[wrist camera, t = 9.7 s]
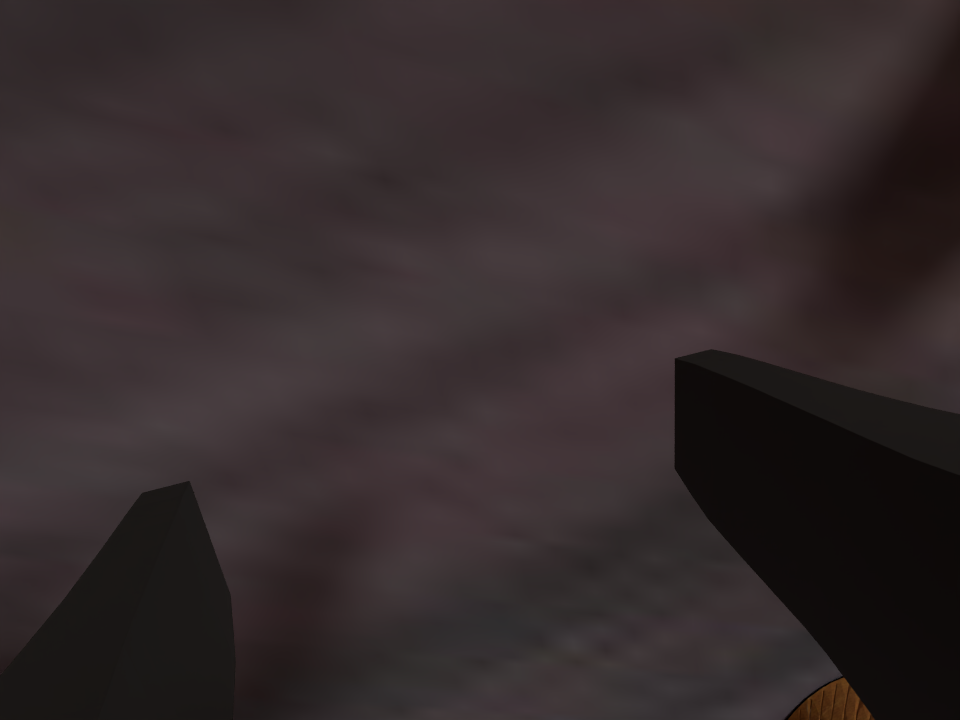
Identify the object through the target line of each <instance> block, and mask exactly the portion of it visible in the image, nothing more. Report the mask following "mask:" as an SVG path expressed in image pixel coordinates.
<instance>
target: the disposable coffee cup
mask: <svg viewBox="0 0 960 720" xmlns="http://www.w3.org/2000/svg"><path fill="white" fill-rule="evenodd" d="M788 720H875V719H874V718H873V716H872V715H871V713H870V712H869V711H868V709H867V708H866V707H865V705H864V704H863V702H862V701H861V700H860V698H859V697H858V696H857V694H856V693H855V691H854V690H853V689H852V687H851V686H850V685H849V683H848V682H847V681H846V679H845V678H844V677H843V678H841V679H839V680H836V681H834V682H832V683H830V684H828V685H827V686H825V687H823V688H822V689H820V690H819V691H817V692H816V693H815V694H813V695H812V696H811V697H809V698H808V699H807V700H806V701H805V702H804V703H803V704H802V705H801V706H800V707H799V708H798V709H797V710H796V711H795V712H794V713H793V714H792V715H791V716H790V718H789V719H788Z"/></svg>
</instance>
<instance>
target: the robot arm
mask: <svg viewBox="0 0 960 720" xmlns="http://www.w3.org/2000/svg"><path fill="white" fill-rule="evenodd" d="M675 470H676V471H677V473H678V474H679V476H680V478H681V479H682V481H683V482H684V484H685V485H686V487H687V489H688V490H689V492H690V493H691V495H692V496H693V498H694V499H695V501H696V502H697V504H698V505H699V506H700V508H701V509H702V511H703V512H704V514H705V515H706V517H707V518H708V519H709V521H710V522H711V523H712V524H713V525H714V526H715V528H716V529H717V530H718V531H719V532H720V533H721V534H722V536H723V537H724V538H725V539H726V540H727V541H728V542H729V543H730V545H731V546H732V547H733V548H734V549H735V550H736V551H737V552H738V554H739V555H740V556H741V557H742V558H743V559H744V560H745V561H746V563H747V564H748V565H749V566H750V567H751V568H752V569H753V570H754V571H755V572H756V574H757V575H758V576H759V577H760V578H761V579H762V580H763V581H764V582H765V584H766V585H767V586H768V587H769V588H770V589H771V590H772V591H773V592H774V594H775V595H776V596H777V597H778V598H779V599H780V600H781V601H782V602H783V603H784V605H785V606H786V607H787V608H788V609H789V610H790V611H791V612H792V613H793V615H794V616H795V617H796V618H797V619H798V620H799V621H800V622H801V623H802V625H803V626H804V627H805V628H806V629H807V630H808V632H809V633H810V634H811V635H812V636H813V638H814V639H815V640H816V641H817V642H818V644H819V645H820V646H821V647H822V648H823V650H824V651H825V652H826V653H827V655H828V656H829V657H830V659H831V660H832V661H833V663H834V664H835V666H836V667H837V668H838V670H839V671H840V672H841V674H842V675H843V676H844V678H845V679H846V681H847V682H848V683H849V685H850V686H851V687H852V689H853V690H854V691H855V693H856V694H857V696H858V697H859V698H860V700H861V701H862V702H863V704H864V705H865V707H866V708H867V709H868V711H869V712H870V713H871V715H872V716H873V718H874V719H875V720H960V414H956V413H951V412H946V411H942V410H937V409H932V408H928V407H924V406H920V405H916V404H912V403H908V402H904V401H900V400H895V399H891V398H887V397H883V396H879V395H876V394H872V393H868V392H865V391H861V390H857V389H854V388H850V387H847V386H843V385H840V384H836V383H833V382H829V381H826V380H822V379H819V378H815V377H812V376H809V375H805V374H802V373H799V372H795V371H792V370H789V369H785V368H782V367H779V366H775V365H772V364H768V363H765V362H761V361H758V360H754V359H751V358H747V357H743V356H740V355H736V354H731V353H727V352H722V351H717V350H711V349H710V350H707V351H703V352H699V353H695V354H691V355H687V356H683V357H679V358H675ZM234 684H235V646H234V631H233V619H232V607H231V596H230V592H229V589H228V587H227V584H226V581H225V578H224V576H223V573H222V570H221V567H220V564H219V562H218V559H217V556H216V553H215V551H214V548H213V545H212V542H211V539H210V537H209V534H208V531H207V528H206V525H205V523H204V520H203V517H202V514H201V512H200V509H199V506H198V503H197V500H196V498H195V495H194V492H193V489H192V487H191V484H190V481H188V482H184V483H180V484H176V485H172V486H168V487H164V488H160V489H156V490H152V491H148V492H144V493H142V494H141V495H140V497H139V498H138V499H137V500H136V502H135V503H134V504H133V506H132V507H131V509H130V510H129V511H128V513H127V514H126V515H125V517H124V518H123V520H122V521H121V522H120V524H119V525H118V527H117V528H116V530H115V531H114V532H113V534H112V535H111V536H110V538H109V539H108V541H107V542H106V543H105V545H104V546H103V548H102V549H101V550H100V552H99V553H98V555H97V556H96V557H95V559H94V560H93V561H92V563H91V564H90V565H89V567H88V568H87V569H86V571H85V572H84V573H83V575H82V576H81V577H80V579H79V580H78V581H77V583H76V584H75V585H74V587H73V588H72V589H71V591H70V592H69V593H68V595H67V596H66V597H65V599H64V600H63V601H62V602H61V604H60V605H59V606H58V607H57V608H56V610H55V611H54V612H53V613H52V614H51V616H50V617H49V618H48V619H47V620H46V622H45V623H44V624H43V625H42V627H41V628H40V629H39V630H38V631H37V633H36V634H35V635H34V636H33V637H32V639H31V640H30V641H29V642H28V643H27V645H26V646H25V647H24V648H23V650H22V651H21V652H20V653H19V654H18V656H17V657H16V658H15V659H14V660H13V662H12V663H11V664H10V665H9V666H8V667H7V668H6V670H5V671H4V672H3V673H2V674H1V675H0V720H233V703H234Z"/></svg>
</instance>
